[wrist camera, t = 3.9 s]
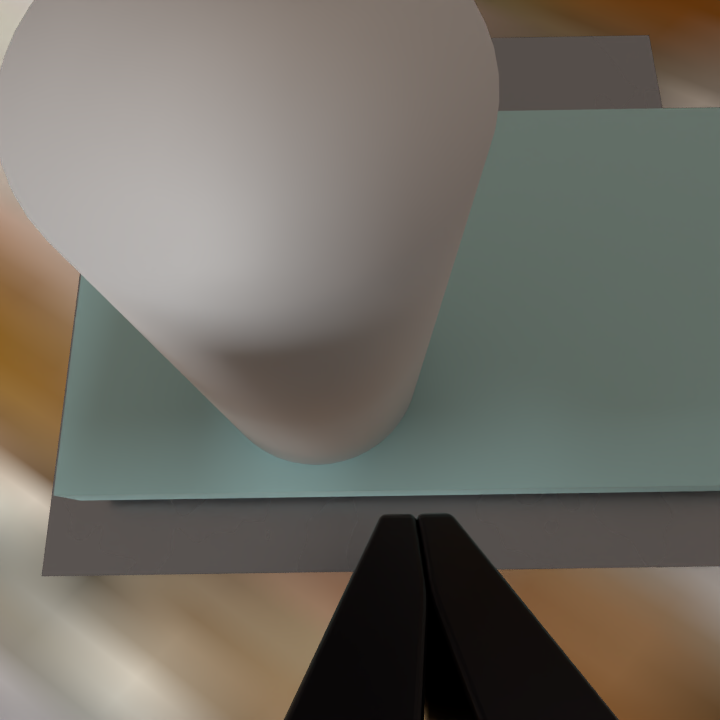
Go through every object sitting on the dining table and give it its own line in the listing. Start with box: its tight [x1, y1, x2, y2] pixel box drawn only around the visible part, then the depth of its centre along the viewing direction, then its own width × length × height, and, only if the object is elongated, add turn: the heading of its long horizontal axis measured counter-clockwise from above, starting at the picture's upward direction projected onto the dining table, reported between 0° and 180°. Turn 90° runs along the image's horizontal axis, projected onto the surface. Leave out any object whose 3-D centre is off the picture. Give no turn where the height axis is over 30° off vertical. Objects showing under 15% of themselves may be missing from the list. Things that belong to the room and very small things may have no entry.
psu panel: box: [42, 35, 720, 576], centre depth 14 cm, size 14×22×5 cm, turn 91°
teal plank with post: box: [0, 0, 720, 501], centre depth 11 cm, size 8×18×11 cm, turn 91°
